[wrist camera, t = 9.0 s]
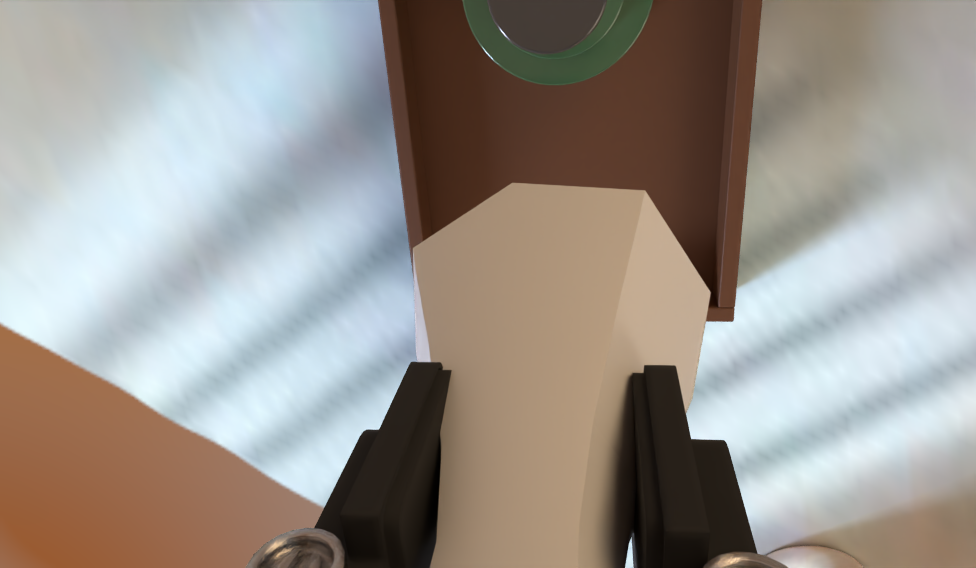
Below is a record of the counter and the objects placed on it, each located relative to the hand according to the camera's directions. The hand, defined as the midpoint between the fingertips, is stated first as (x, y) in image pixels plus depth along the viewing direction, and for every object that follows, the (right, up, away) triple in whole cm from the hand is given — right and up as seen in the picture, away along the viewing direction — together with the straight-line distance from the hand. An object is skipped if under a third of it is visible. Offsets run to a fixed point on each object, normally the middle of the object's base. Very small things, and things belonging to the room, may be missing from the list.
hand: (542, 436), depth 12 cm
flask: (+1, +2, +4) cm, 5 cm away
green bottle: (+2, +13, +11) cm, 17 cm away
